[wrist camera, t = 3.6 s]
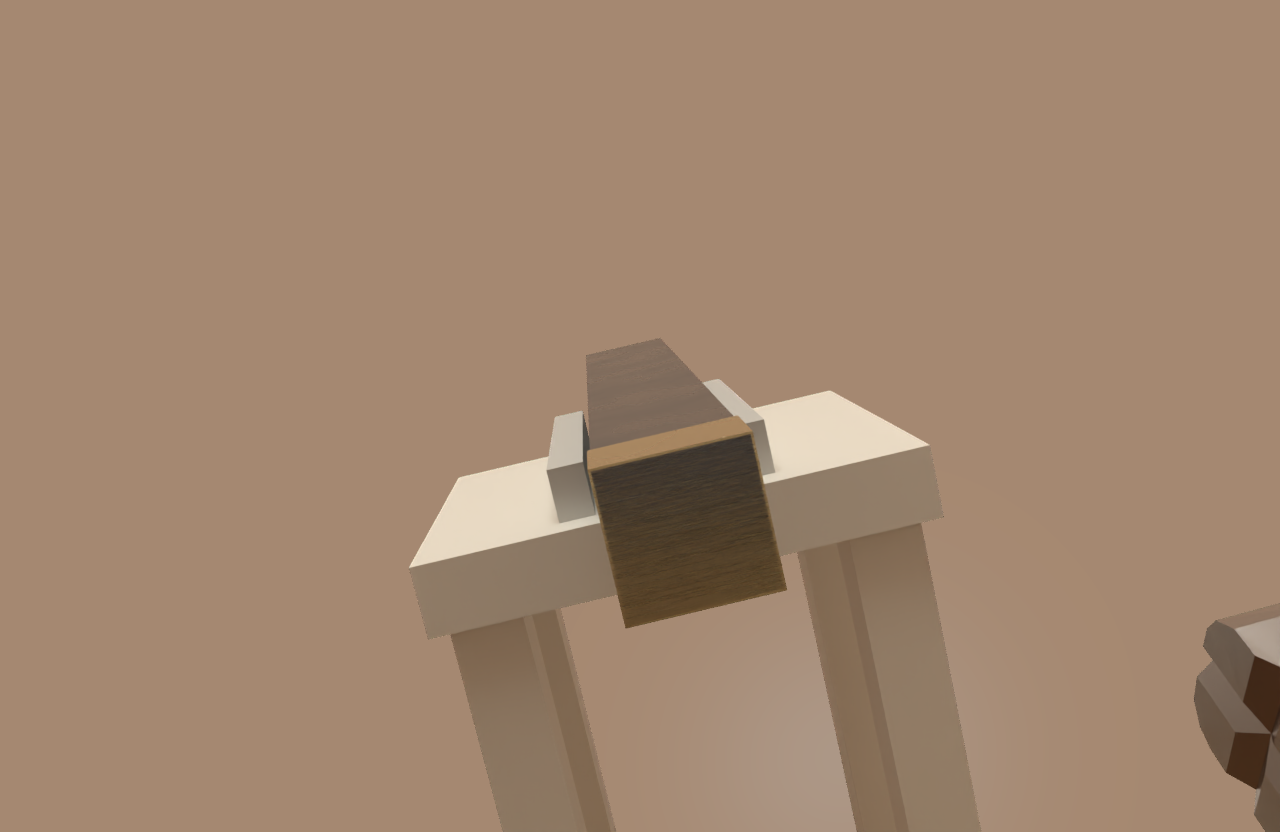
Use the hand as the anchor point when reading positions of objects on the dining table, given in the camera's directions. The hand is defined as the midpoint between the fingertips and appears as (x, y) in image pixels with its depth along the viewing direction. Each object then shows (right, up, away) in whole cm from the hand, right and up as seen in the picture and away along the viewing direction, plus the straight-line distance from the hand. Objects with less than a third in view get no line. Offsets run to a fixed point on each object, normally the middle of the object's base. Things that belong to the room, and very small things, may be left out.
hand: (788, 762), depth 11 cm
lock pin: (-1, +1, +22) cm, 22 cm away
